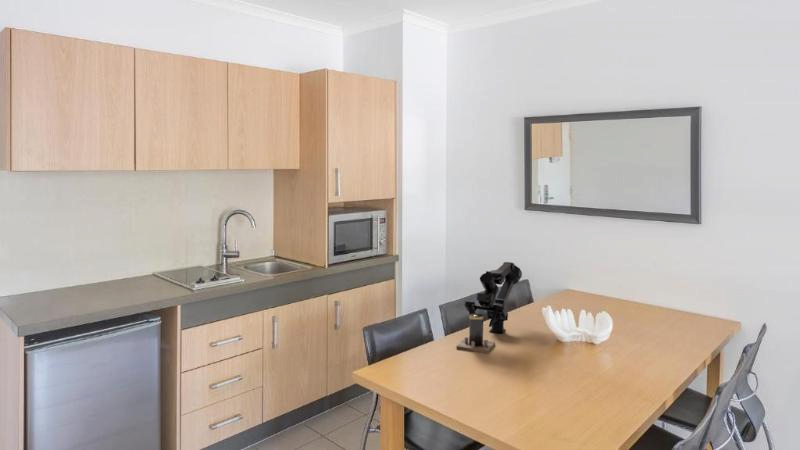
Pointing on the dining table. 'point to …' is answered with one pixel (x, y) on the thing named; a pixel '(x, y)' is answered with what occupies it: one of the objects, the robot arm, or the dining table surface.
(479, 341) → the tea tin
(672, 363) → the dining table surface
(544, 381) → the dining table surface
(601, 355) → the dining table surface
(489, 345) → the peg board
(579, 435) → the dining table surface
